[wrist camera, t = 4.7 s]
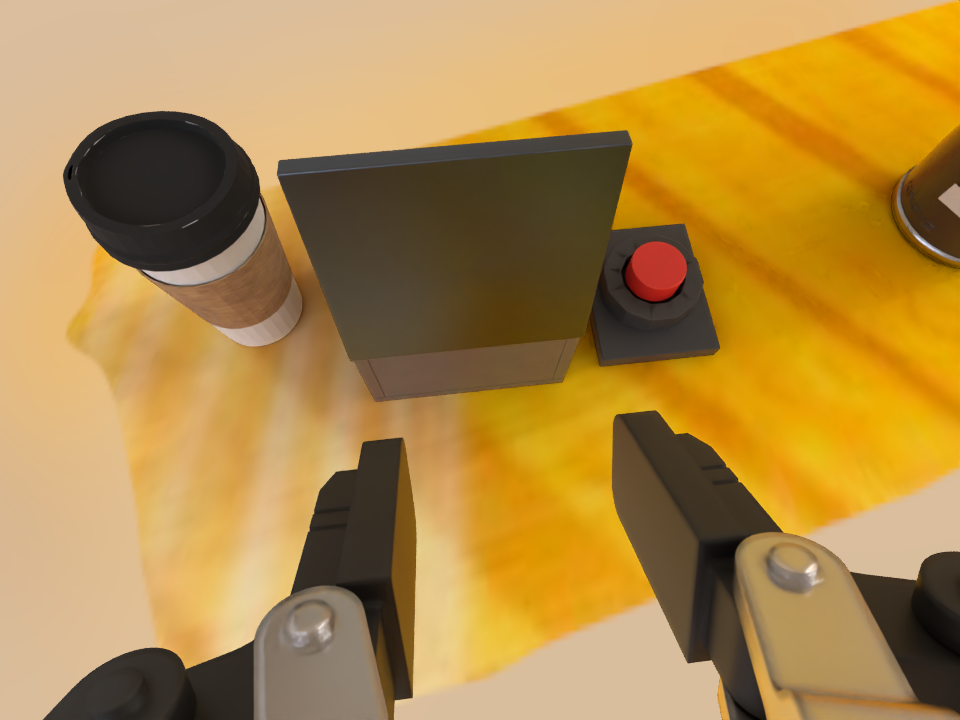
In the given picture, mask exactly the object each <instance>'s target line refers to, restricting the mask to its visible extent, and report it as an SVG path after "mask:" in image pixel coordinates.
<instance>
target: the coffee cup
mask: <svg viewBox="0 0 960 720" xmlns="http://www.w3.org/2000/svg"><path fill="white" fill-rule="evenodd" d="M63 179H64V184H65V188H66V192H67V195H68V197H69V199H70V201H71V203H72V205H73V207H74V208H75V210H76V211H77V213H78V214H79V215H80V217H81V218H82V219H83V221H84V222H85V223H86V226H87V228H88V229H89V231H90V233H91V235H92V236H93V238H94V239H95V240H96V241H97V242H98V243H99V244H100V245H101V246H102V247H103V248H104V249H105V250H106V251H107V252H108V253H109V254H110V256H112V257H113V258H115V259H116V260H118V261H120V262H121V263H123V264H125V265H128V266H131V267H133V268H136V269H137V270H138V271H139V272H140V273H141V274H142V275H143V276H144V277H146V278H147V279H148V280H150V281H151V282H153V283H154V284H155V285H157V286H158V287H159V288H161V289H162V290H164V291H165V292H166V293H168V294H169V295H171V296H172V297H173V298H175V299H176V300H178V301H179V302H180V303H182V304H183V305H185V306H186V307H187V308H189V309H190V310H192V311H193V312H194V313H196V314H197V315H198V316H200V317H201V318H203V319H204V320H206V321H207V322H209V323H210V324H212V325H213V326H214V327H215V328H217V329H218V330H219V331H220V332H222V333H223V334H224V335H226V336H227V337H228V338H230V339H231V340H233V341H235V342H236V343H239V344H242V345H245V346H251V347H253V346H264V345H269V344H272V343H274V342H277V341H278V340H280V339H282V338H283V337H285V336H286V335H287V334H288V333H289V332H291V330H292V329H293V328H294V327H295V325H296V324H297V322H298V320H299V318H300V315H301V312H302V304H303V303H302V296H301V293H300V291H299V288H298V286H297V283H296V281H295V279H294V276H293V274H292V272H291V269H290V266H289V263H288V261H287V258H286V256H285V253H284V250H283V248H282V245H281V242H280V240H279V237H278V235H277V232H276V229H275V227H274V224H273V222H272V219H271V216H270V214H269V211H268V209H267V206H266V203H265V201H264V198H263V196H262V195H261V193H260V185H259V178H258V175H257V173H256V170H255V167H254V166H253V164H252V162H251V160H250V158H249V157H248V155H247V154H246V153H245V151H244V150H243V149H242V148H241V147H240V146H239V145H238V144H237V143H236V142H234V141H233V140H232V139H231V138H230V136H229V135H228V134H227V133H226V132H225V131H224V130H223V129H221V128H220V127H219V126H218V125H217V124H215V123H213V122H211V121H209V120H207V119H205V118H203V117H200V116H196V115H193V114H188V113H181V112H169V111H168V112H167V111H166V112H165V111H158V112H146V113H140V114H135V115H130V116H126V117H123V118H119V119H116V120H113V121H111V122H109V123H107V124H105V125H103V126H101V127H99V128H97V129H96V130H94V131H93V132H92V133H91V134H89V135H88V136H87V137H86V138H85V139H84V140H83V141H82V142H81V143H80V144H79V146H78V147H77V149H76V150H75V152H74V153H73V154H72V156H71V158H70V160H69V162H68V164H67V165H66V167H65V170H64V173H63Z"/></svg>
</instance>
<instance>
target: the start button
mask: <svg viewBox="0 0 960 720" xmlns="http://www.w3.org/2000/svg"><path fill="white" fill-rule="evenodd" d="M686 273H687V265H686V261H685V259H684V257H683V255H682V254H681V253H680V251H679V250H677V249H676V248H675V247H673V246H672V245H670V244H667V243H664V242H649V243H646V244H643V245H642V246H640V247H639V248H637V250H636V251H635V252H634V254H633V256H632V258H631V260H630V262H629V264H628V266H627V269H626V273H625V278H626V282H627V285H628V287H629V288H630V290H631V291H632V292H633V293H634V294H635V295H636V296H638V297H640V298H642V299H644V300H647V301H654V302H655V301H662V300H665V299H668V298H669V297H671V296H672V295H673V294H674V293H675V292H676V290H677V289H678V287H679V286H680V284H681V283H682V281H683V280H684V278H685V276H686Z"/></svg>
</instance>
